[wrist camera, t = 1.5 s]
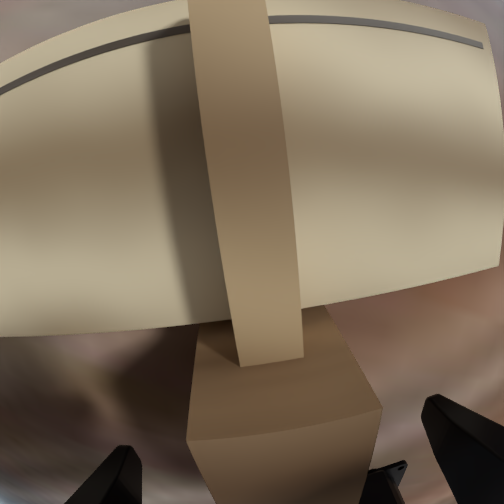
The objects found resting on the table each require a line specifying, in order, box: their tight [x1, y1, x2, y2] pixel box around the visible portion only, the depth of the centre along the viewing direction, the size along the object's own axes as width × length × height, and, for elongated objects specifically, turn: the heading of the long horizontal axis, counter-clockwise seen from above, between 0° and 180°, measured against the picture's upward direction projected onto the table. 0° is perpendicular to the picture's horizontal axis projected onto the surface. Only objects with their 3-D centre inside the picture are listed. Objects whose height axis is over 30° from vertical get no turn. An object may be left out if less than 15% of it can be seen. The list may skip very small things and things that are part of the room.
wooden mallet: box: [186, 0, 383, 504], centre depth 8 cm, size 14×4×6 cm, turn 7°
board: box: [0, 0, 504, 337], centre depth 9 cm, size 9×24×2 cm, turn 97°
